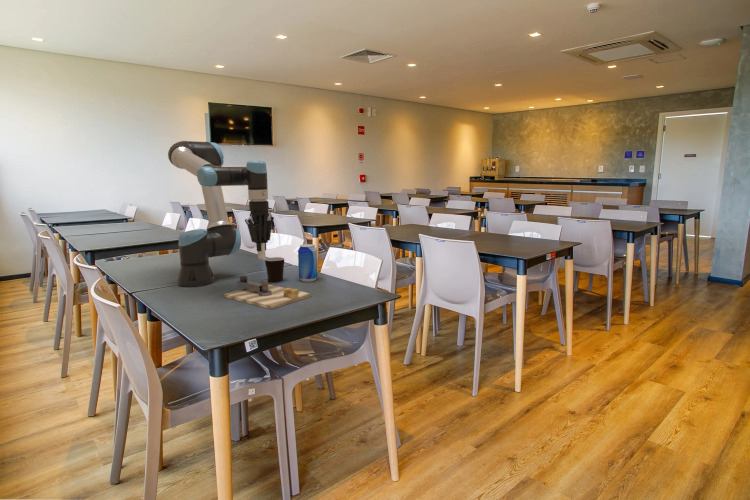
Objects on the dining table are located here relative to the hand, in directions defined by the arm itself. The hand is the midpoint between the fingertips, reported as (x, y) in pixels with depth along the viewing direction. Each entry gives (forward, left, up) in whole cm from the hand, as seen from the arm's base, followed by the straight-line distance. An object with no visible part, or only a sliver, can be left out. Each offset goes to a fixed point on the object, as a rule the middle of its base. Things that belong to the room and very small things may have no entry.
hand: (262, 258), depth 176 cm
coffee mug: (-11, +17, -14) cm, 24 cm away
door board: (+7, -5, -14) cm, 16 cm away
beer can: (+1, +25, -14) cm, 29 cm away
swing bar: (-1, -5, -12) cm, 13 cm away
